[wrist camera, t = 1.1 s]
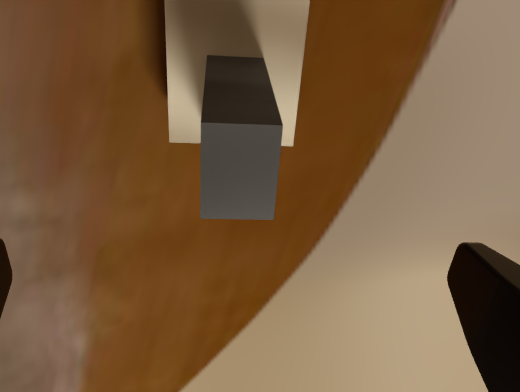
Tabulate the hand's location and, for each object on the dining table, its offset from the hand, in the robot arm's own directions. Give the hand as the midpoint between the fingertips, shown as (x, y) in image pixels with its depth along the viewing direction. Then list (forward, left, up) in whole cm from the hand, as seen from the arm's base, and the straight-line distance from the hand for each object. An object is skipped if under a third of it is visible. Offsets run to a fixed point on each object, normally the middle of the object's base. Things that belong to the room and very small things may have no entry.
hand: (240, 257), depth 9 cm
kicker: (+2, 0, -12) cm, 12 cm away
